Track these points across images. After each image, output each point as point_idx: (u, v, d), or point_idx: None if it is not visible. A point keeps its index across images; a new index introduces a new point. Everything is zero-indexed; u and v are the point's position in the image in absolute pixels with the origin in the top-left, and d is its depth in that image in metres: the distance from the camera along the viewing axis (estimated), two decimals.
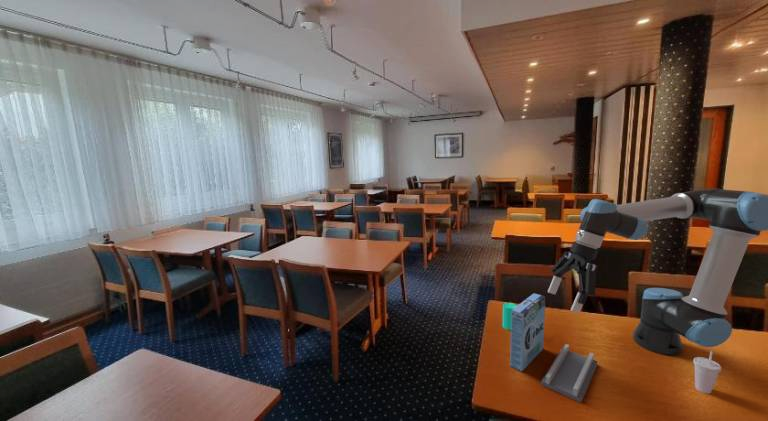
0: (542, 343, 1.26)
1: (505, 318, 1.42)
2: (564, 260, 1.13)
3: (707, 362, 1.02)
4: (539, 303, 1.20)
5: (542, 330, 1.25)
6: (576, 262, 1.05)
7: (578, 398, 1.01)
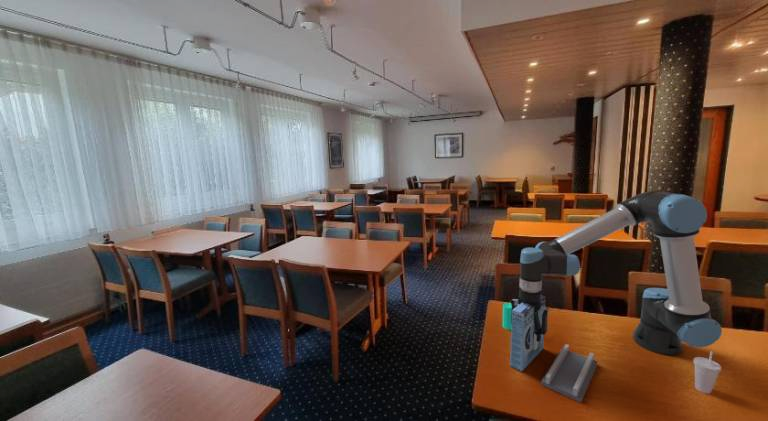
0: (542, 343, 1.26)
1: (505, 318, 1.42)
2: None
3: (707, 362, 1.02)
4: None
5: None
6: None
7: (578, 398, 1.01)
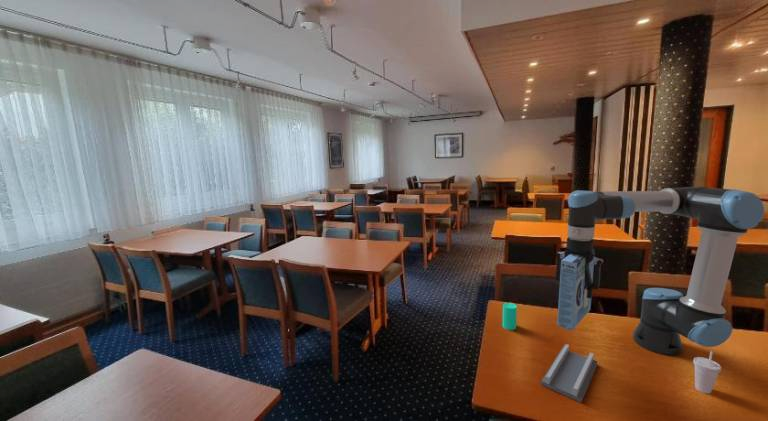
0: (590, 303, 1.12)
1: (505, 318, 1.42)
2: None
3: (707, 362, 1.02)
4: None
5: None
6: None
7: (578, 398, 1.01)
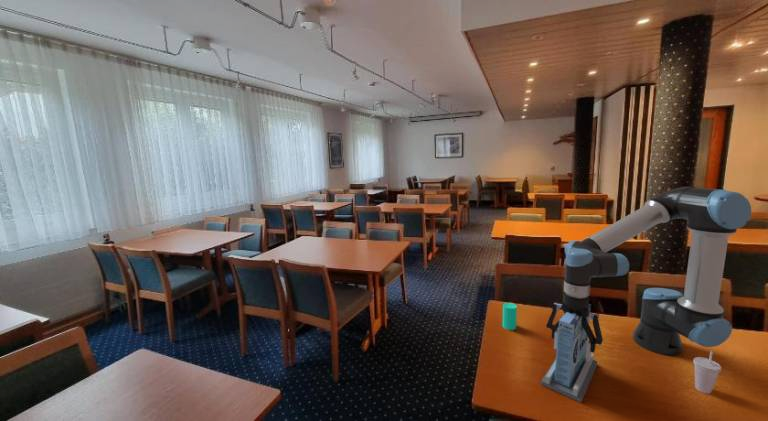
0: (585, 355, 1.16)
1: (505, 318, 1.42)
2: (556, 312, 1.12)
3: (707, 362, 1.02)
4: None
5: (586, 341, 1.14)
6: None
7: (578, 398, 1.01)
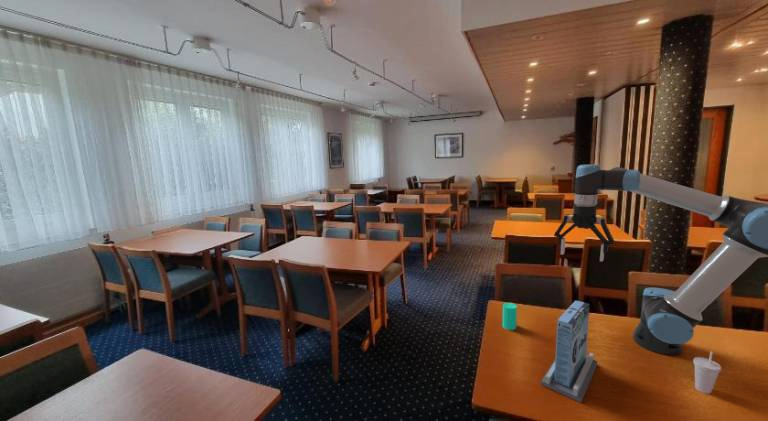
0: (585, 355, 1.16)
1: (505, 318, 1.42)
2: (565, 223, 1.27)
3: (707, 362, 1.02)
4: (584, 311, 1.10)
5: (586, 340, 1.14)
6: (587, 222, 1.21)
7: (578, 398, 1.01)
